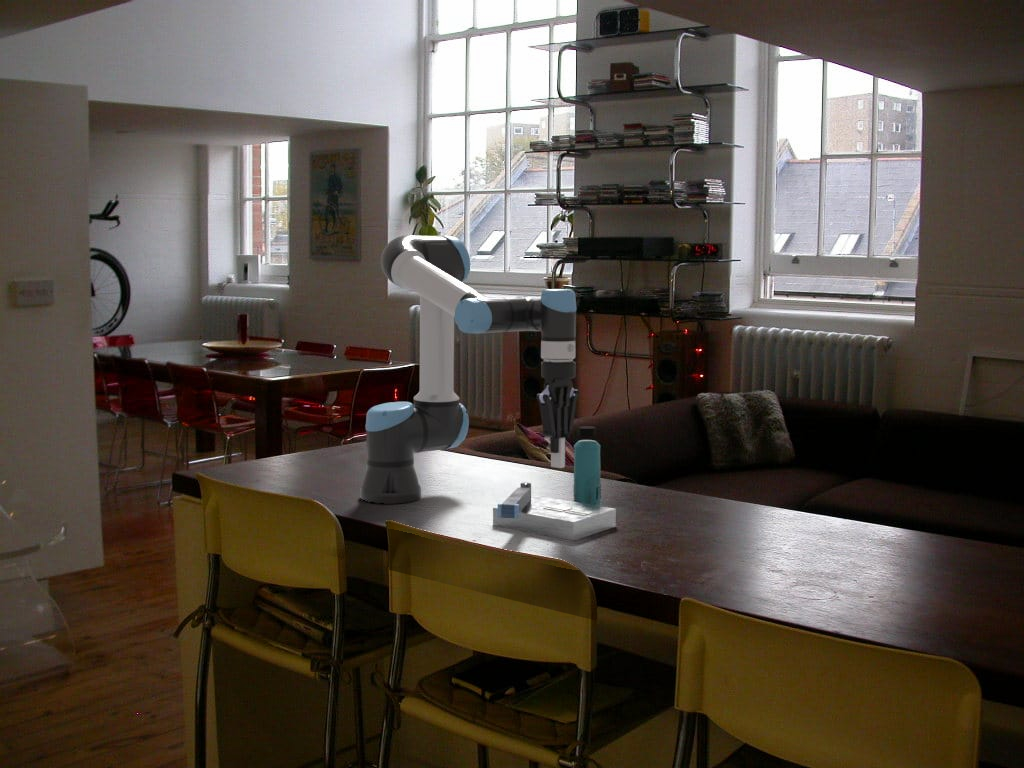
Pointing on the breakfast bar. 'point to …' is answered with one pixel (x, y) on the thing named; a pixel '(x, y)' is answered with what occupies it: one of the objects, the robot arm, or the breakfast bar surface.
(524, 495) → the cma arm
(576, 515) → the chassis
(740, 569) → the breakfast bar surface
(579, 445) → the beverage bottle
